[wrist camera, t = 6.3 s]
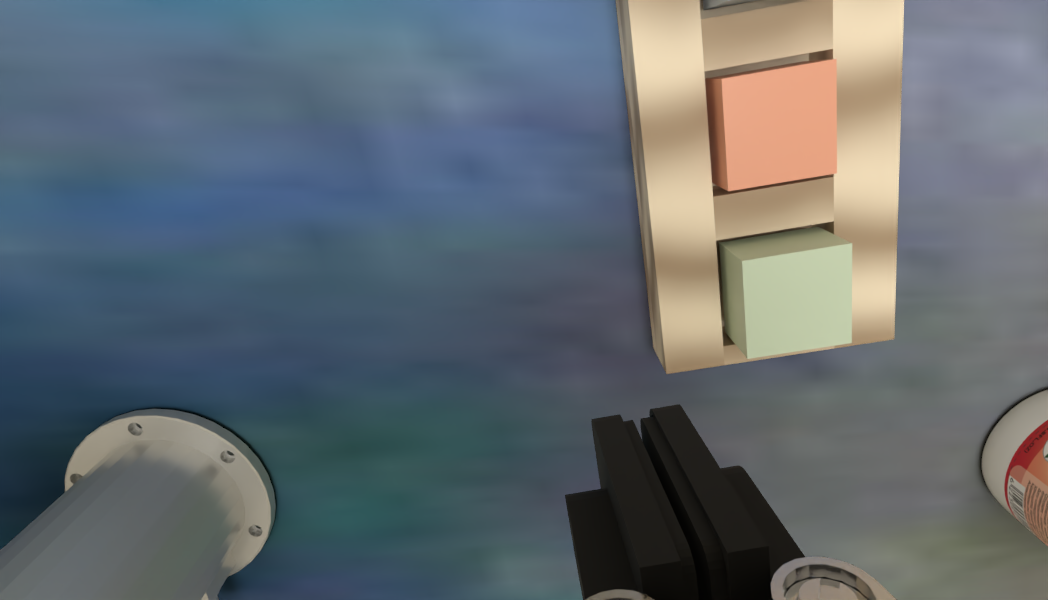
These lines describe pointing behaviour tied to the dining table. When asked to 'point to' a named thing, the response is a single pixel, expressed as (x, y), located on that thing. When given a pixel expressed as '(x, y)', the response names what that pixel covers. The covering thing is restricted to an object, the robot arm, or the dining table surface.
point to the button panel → (719, 215)
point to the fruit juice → (1021, 463)
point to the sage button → (787, 291)
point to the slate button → (722, 3)
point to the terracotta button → (773, 124)
